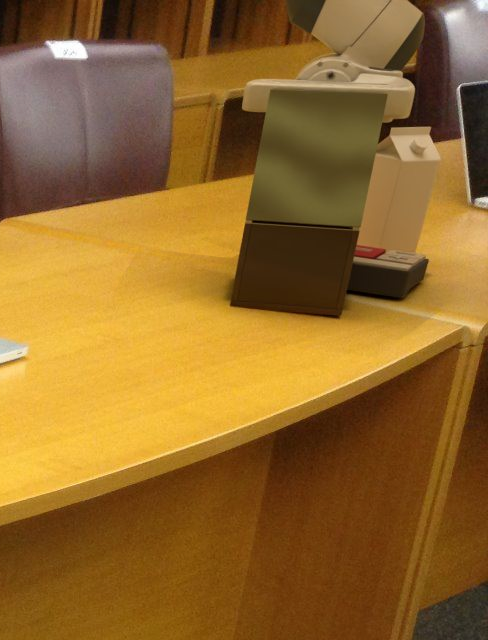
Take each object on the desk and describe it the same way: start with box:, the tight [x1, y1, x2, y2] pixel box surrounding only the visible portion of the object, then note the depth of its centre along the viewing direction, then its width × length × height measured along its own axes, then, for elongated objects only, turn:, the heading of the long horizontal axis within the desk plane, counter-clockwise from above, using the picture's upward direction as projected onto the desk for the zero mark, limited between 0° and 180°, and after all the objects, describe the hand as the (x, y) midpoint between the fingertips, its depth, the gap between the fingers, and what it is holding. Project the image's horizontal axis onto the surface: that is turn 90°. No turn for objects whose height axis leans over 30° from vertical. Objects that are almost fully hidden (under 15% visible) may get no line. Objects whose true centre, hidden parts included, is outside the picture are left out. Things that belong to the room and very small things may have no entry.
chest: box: [229, 219, 360, 317], centre depth 204 cm, size 14×14×11 cm
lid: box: [245, 89, 388, 228], centre depth 194 cm, size 16×14×1 cm
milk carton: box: [357, 126, 442, 254], centre depth 227 cm, size 7×7×19 cm
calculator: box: [347, 245, 430, 299], centre depth 214 cm, size 11×4×15 cm
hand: (326, 103), depth 193 cm, fingers closed, pressing on lid
